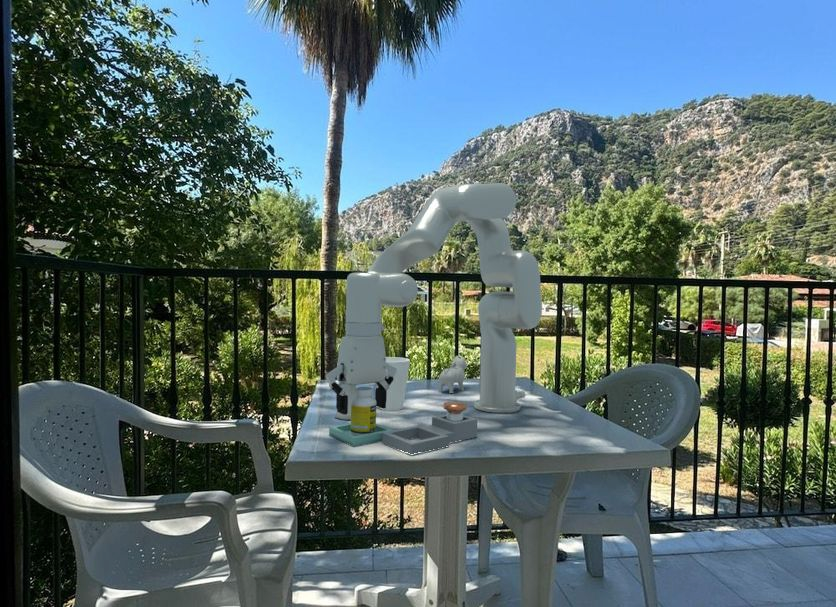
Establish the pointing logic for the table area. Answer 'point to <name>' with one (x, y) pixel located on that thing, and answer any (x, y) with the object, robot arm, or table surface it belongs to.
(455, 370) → the dog figurine
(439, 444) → the housing
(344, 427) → the tray
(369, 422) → the supplement bottle
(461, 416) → the plunger
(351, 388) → the flask
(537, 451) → the table surface
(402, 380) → the foam cup
